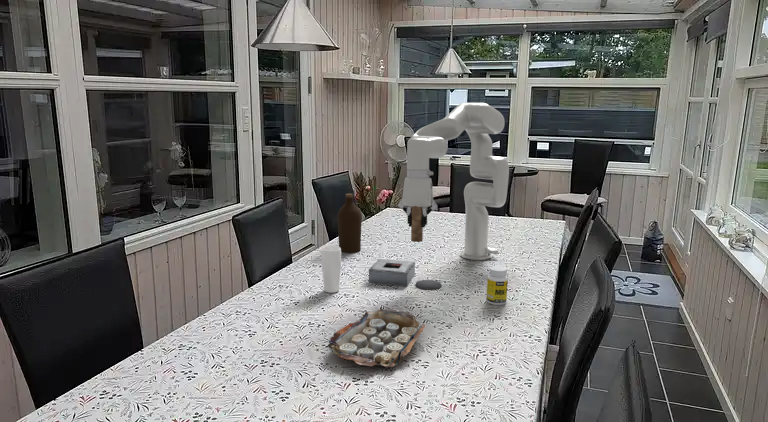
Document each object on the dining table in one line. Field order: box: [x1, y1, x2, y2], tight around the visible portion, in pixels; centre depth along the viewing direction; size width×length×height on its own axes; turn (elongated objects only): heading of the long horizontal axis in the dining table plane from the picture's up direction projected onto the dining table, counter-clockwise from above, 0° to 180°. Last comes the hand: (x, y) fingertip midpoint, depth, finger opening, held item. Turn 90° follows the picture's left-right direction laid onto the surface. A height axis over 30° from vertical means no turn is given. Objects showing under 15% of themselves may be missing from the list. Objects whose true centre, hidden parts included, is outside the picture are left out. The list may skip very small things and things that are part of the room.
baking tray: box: [327, 308, 426, 368], centre depth 138 cm, size 30×22×5 cm
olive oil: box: [336, 193, 363, 254], centre depth 229 cm, size 11×11×25 cm
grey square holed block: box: [368, 258, 416, 287], centre depth 193 cm, size 14×14×5 cm
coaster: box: [415, 279, 442, 291], centre depth 186 cm, size 9×9×1 cm
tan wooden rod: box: [410, 206, 424, 243], centre depth 184 cm, size 4×4×16 cm
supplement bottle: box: [485, 265, 509, 306], centre depth 170 cm, size 6×6×11 cm
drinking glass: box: [320, 245, 342, 294], centre depth 179 cm, size 7×7×15 cm
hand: (417, 225), depth 185 cm, fingers closed on tan wooden rod, 4 cm apart
